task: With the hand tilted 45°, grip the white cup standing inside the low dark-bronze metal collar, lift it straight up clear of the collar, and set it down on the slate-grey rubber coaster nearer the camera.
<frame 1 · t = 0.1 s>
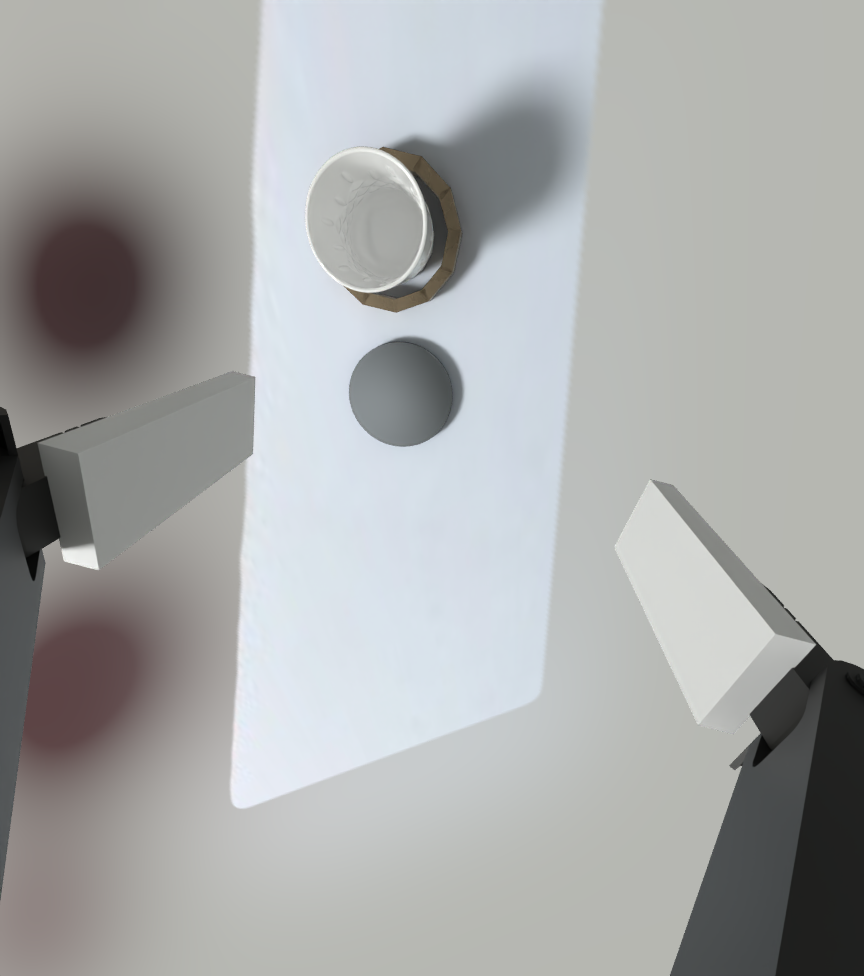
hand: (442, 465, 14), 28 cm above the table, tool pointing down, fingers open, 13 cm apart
coaster: (401, 395, 42), on the table
white cup: (395, 238, 36), resting in collar
collar: (394, 238, 36), on the table
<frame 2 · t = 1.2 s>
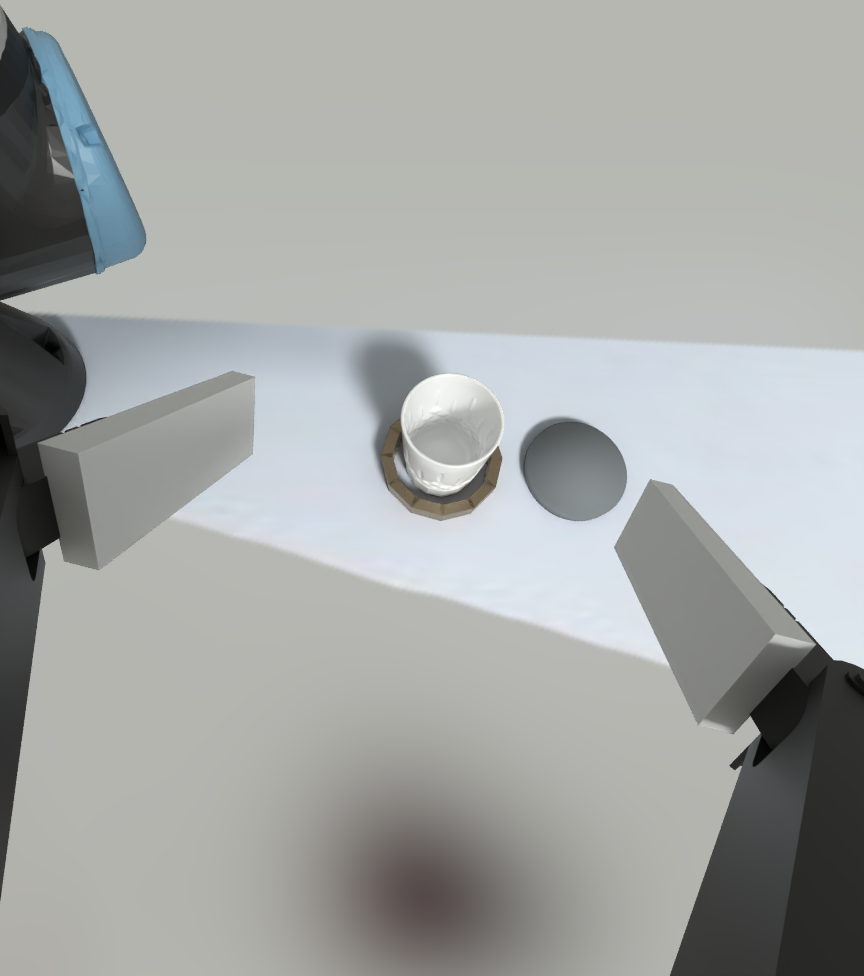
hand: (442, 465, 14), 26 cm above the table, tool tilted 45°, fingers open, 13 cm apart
coaster: (573, 472, 42), on the table
white cup: (440, 464, 42), resting in collar
collar: (440, 463, 41), on the table
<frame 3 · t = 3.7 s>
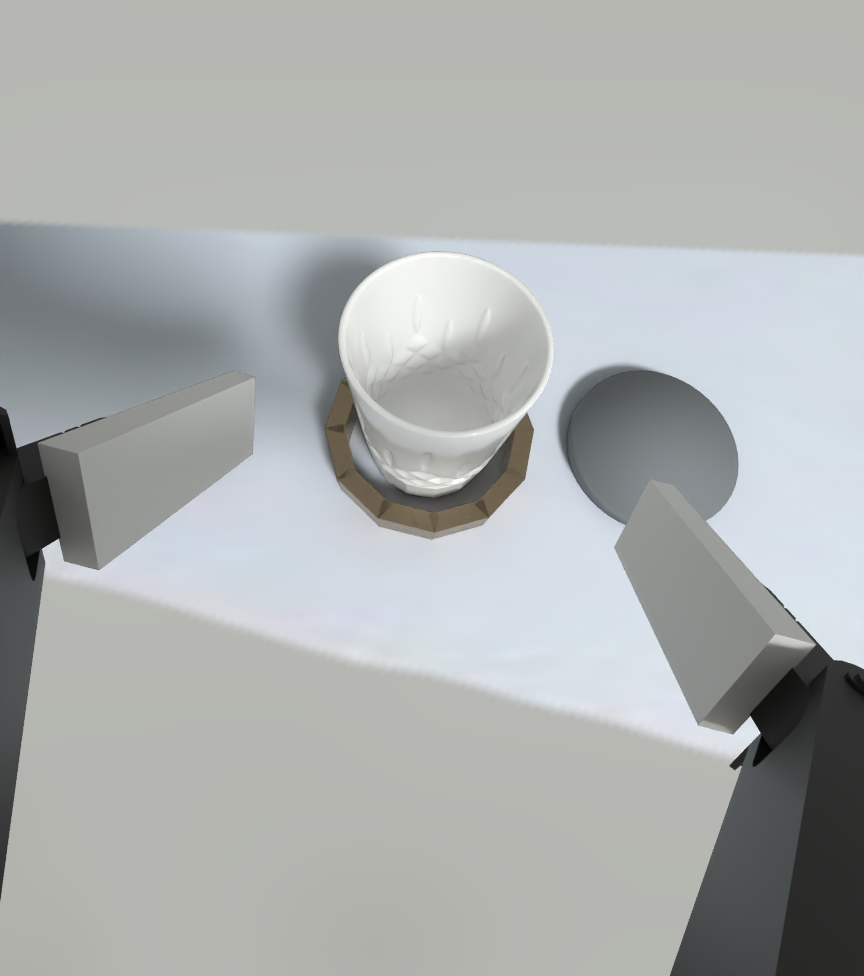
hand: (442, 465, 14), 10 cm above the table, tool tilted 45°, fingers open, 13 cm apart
coaster: (646, 451, 26), on the table
white cup: (428, 444, 25), resting in collar
collar: (428, 443, 25), on the table
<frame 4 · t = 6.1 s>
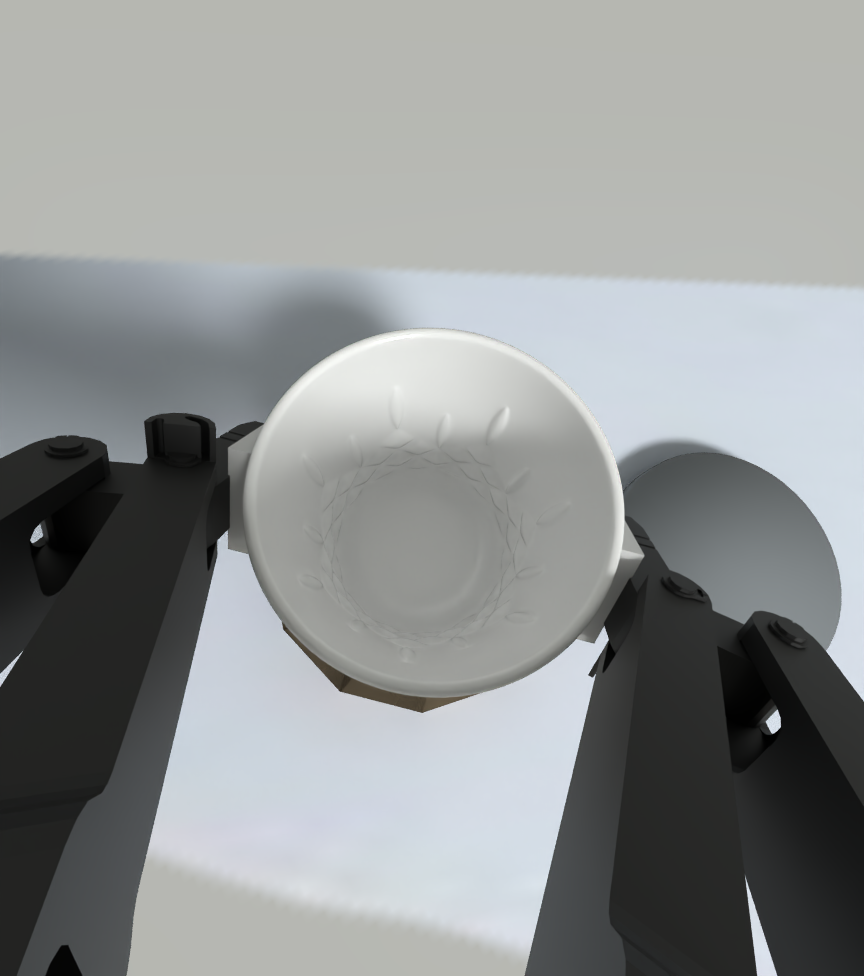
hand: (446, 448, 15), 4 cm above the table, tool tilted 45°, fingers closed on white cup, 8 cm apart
coaster: (712, 563, 19), on the table
white cup: (417, 556, 18), resting in collar, touching gripper
collar: (418, 556, 18), on the table
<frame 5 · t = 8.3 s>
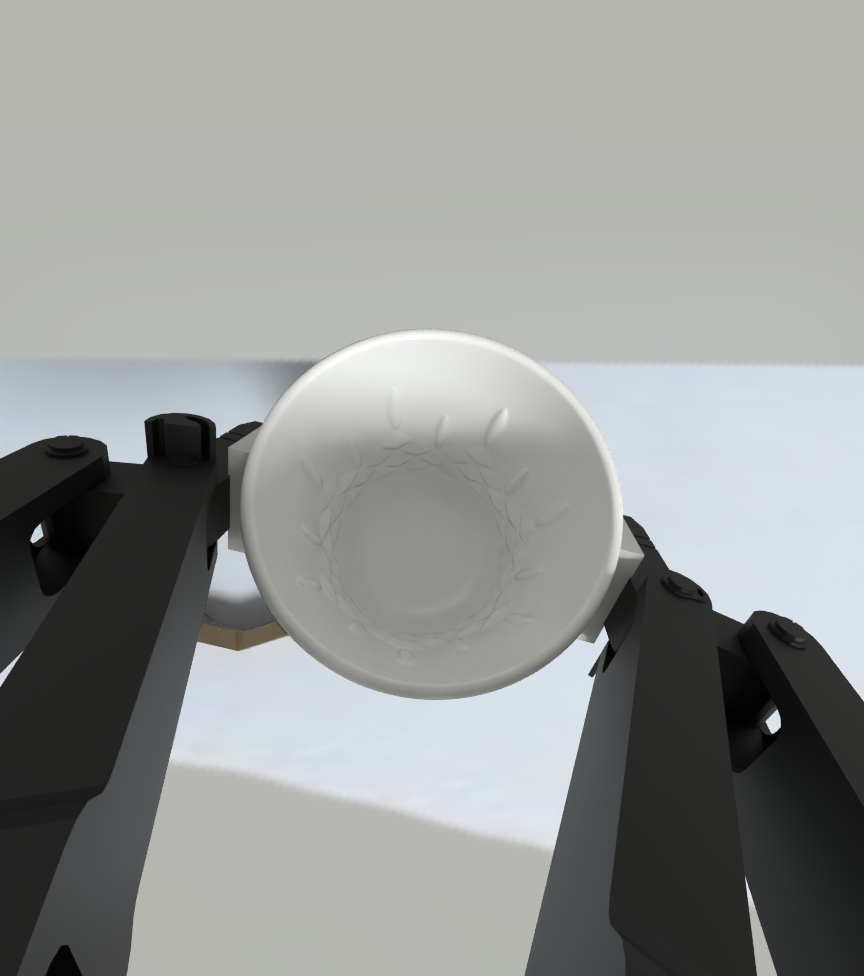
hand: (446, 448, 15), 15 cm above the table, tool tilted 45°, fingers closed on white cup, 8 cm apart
white cup: (416, 557, 18), point 11 cm above the table, touching gripper
collar: (255, 558, 29), on the table
when the fingers open (7 cm above the table, at t = 10.5 s): white cup drops 1 cm, resting on coaster.
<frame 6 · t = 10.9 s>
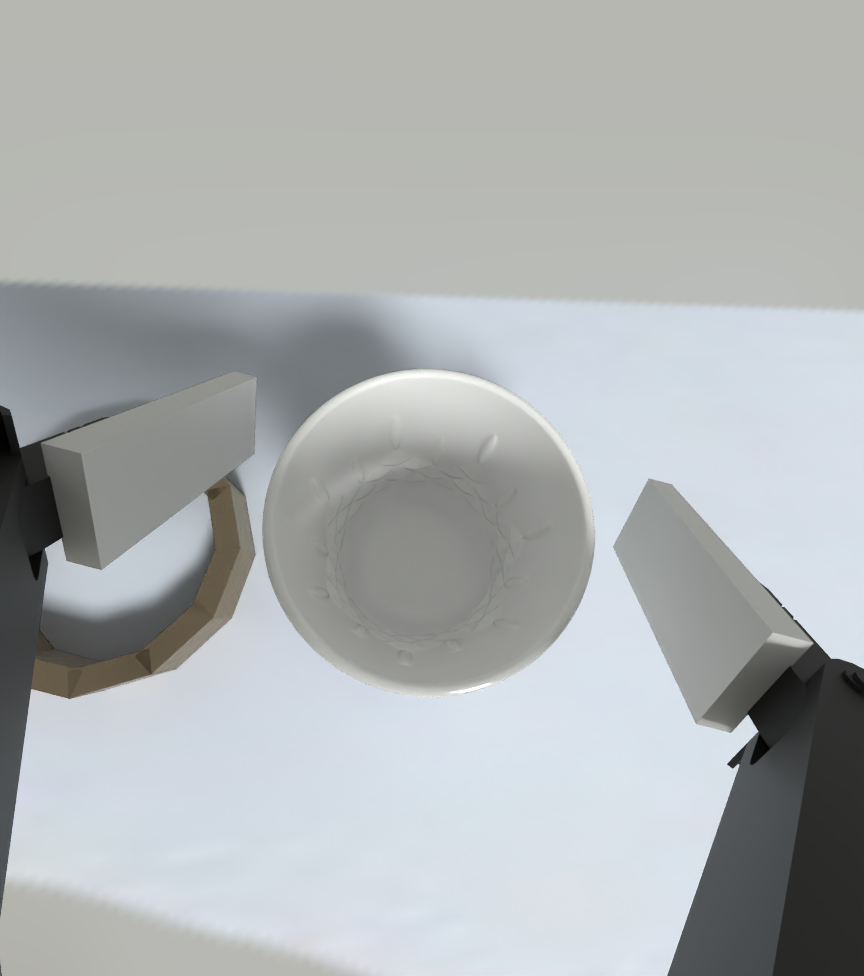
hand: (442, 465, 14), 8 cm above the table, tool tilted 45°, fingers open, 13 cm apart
white cup: (414, 562, 20), point 1 cm above the table, touching coaster
collar: (129, 556, 20), on the table
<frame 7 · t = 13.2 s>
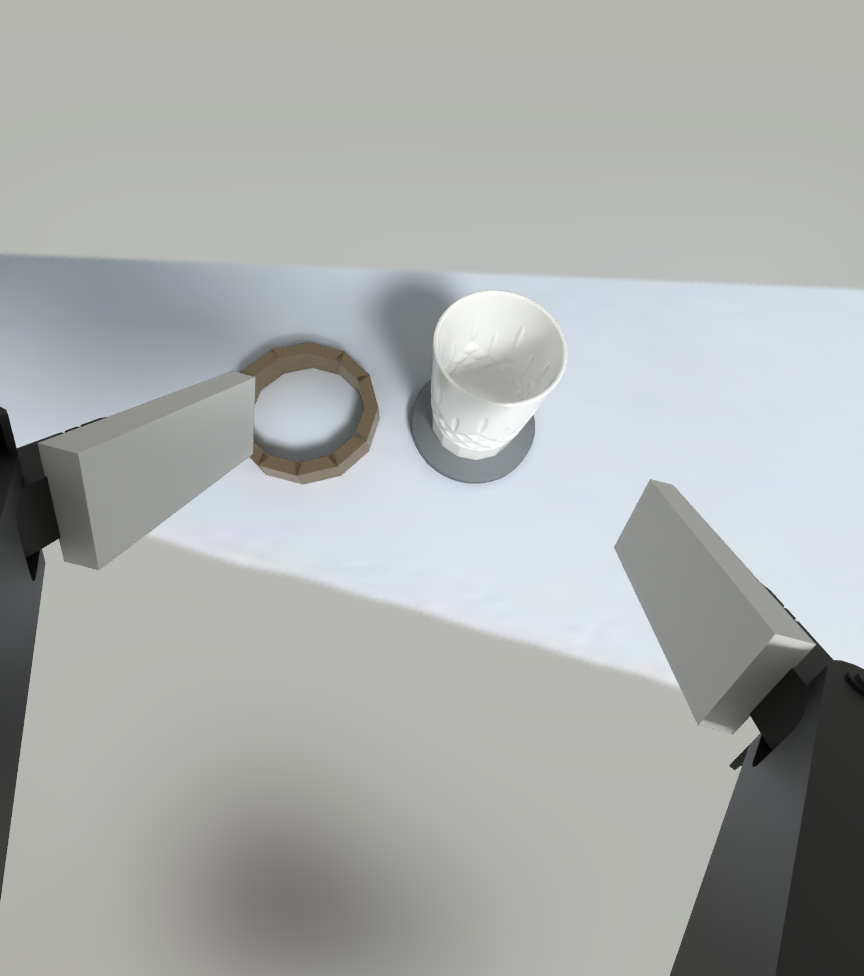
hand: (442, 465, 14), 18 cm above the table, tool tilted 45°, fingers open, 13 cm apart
coaster: (471, 426, 35), on the table
white cup: (472, 422, 34), point 1 cm above the table, touching coaster
collar: (308, 417, 34), on the table
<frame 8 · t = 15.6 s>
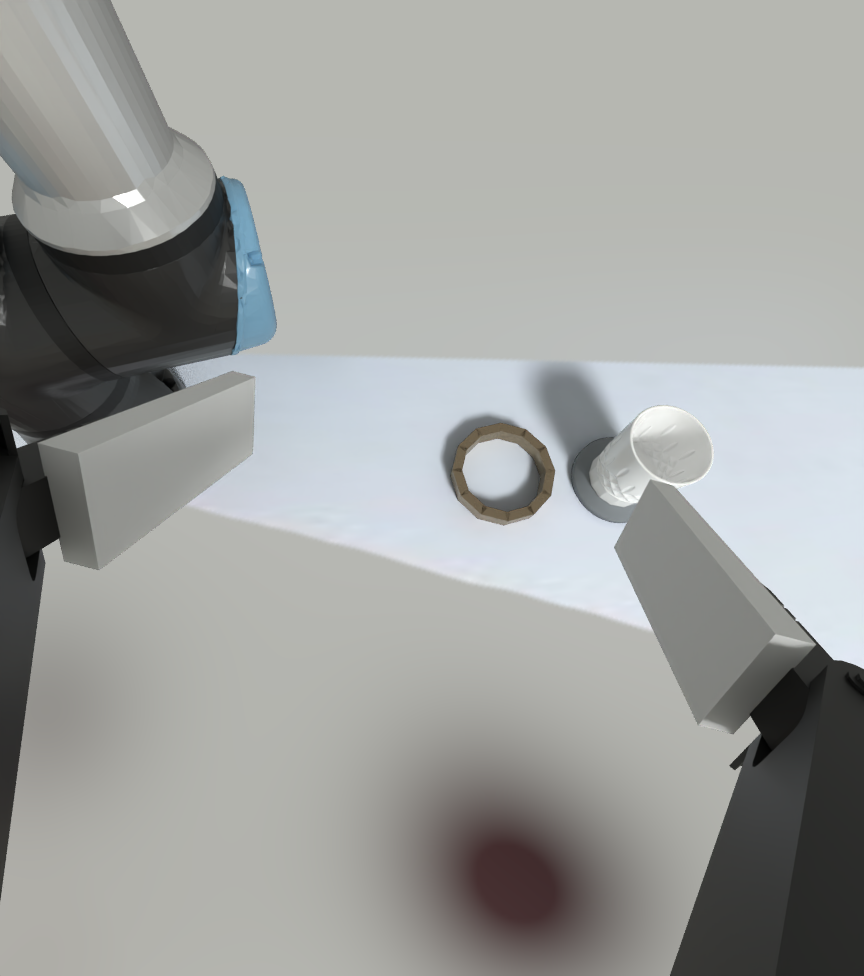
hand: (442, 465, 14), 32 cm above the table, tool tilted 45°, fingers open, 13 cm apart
coaster: (613, 480, 49), on the table
white cup: (616, 479, 48), point 1 cm above the table, touching coaster
collar: (500, 476, 48), on the table
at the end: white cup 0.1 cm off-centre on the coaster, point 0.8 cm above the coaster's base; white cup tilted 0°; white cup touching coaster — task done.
